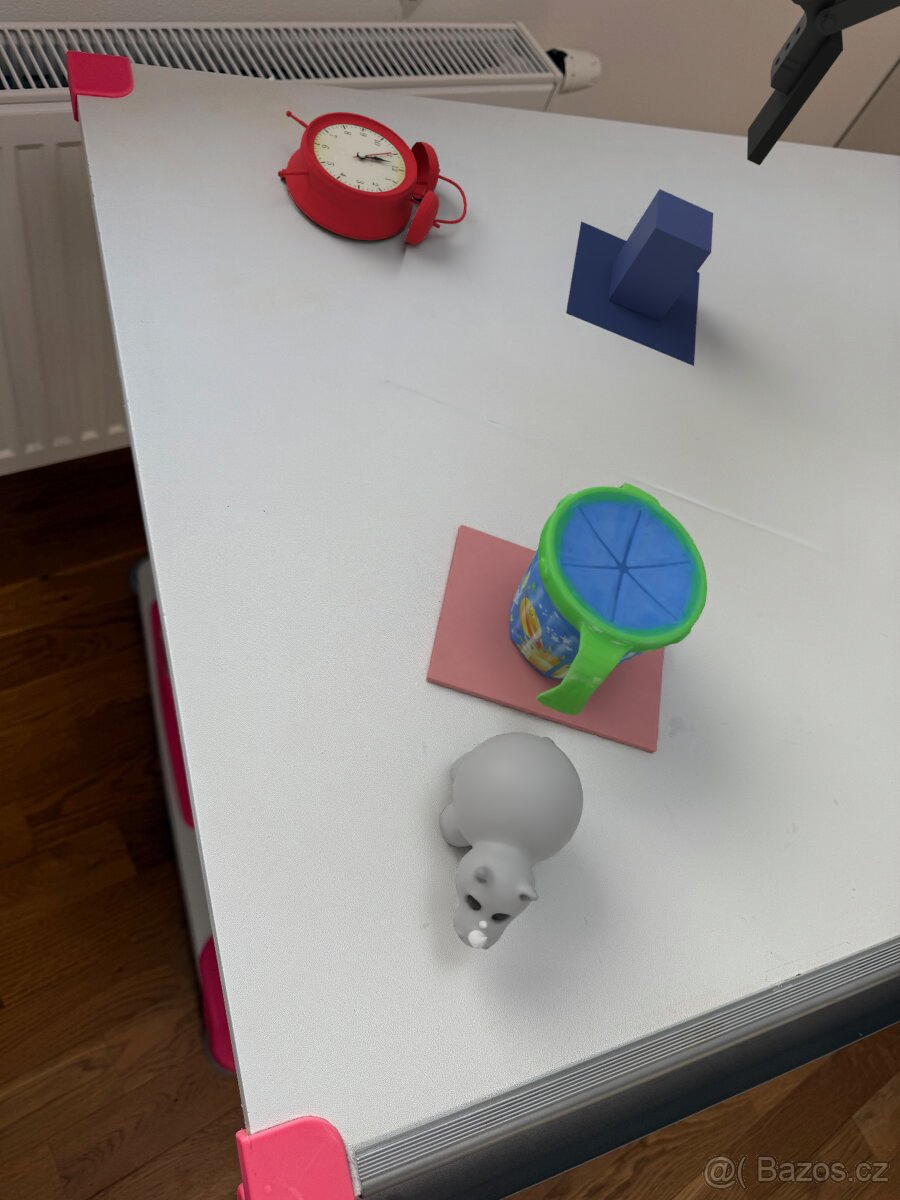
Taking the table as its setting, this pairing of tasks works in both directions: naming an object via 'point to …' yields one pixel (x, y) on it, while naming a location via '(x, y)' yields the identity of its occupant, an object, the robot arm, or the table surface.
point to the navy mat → (595, 308)
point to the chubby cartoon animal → (507, 827)
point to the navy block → (661, 255)
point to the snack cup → (604, 590)
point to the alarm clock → (364, 179)
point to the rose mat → (501, 673)
